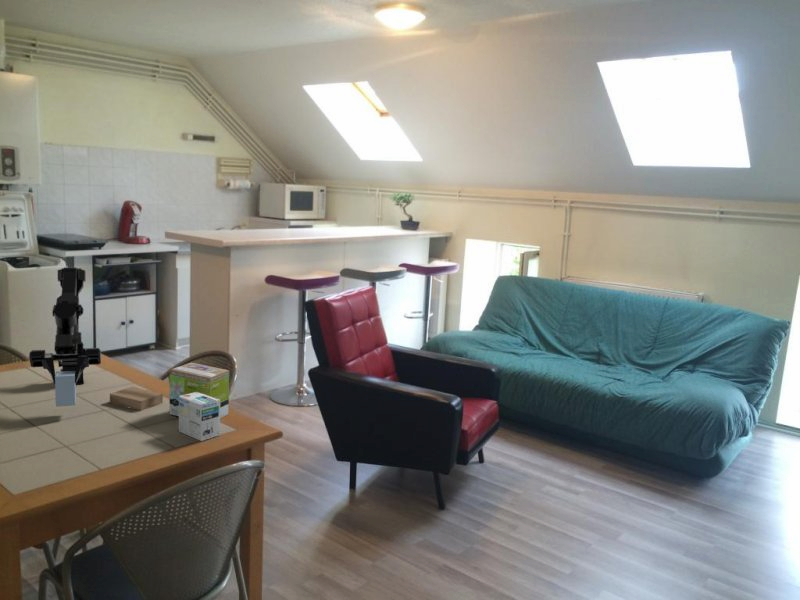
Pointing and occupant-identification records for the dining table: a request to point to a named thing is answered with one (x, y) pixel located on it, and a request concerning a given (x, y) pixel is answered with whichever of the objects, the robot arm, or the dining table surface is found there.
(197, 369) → the tea box
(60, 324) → the robot arm
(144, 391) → the stack block
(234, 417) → the dining table surface
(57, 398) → the pillar block
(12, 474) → the dining table surface
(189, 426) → the light bulb box
